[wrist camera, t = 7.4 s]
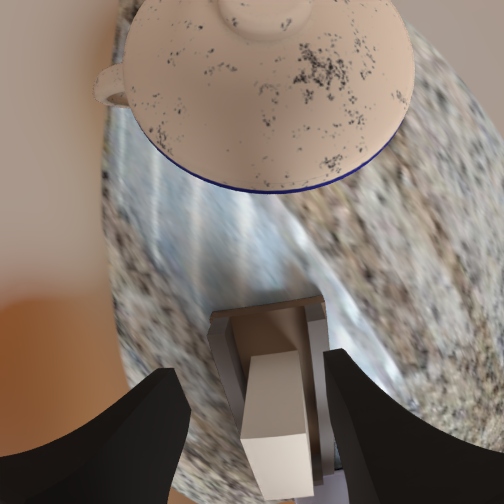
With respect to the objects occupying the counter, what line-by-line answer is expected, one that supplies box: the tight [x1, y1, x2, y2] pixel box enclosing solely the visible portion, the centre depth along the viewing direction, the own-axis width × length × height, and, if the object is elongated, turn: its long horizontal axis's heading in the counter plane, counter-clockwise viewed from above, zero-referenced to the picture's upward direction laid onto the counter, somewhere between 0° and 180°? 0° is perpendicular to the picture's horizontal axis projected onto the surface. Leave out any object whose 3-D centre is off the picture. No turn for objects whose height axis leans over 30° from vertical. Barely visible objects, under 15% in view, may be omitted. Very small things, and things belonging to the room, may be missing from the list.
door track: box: [207, 295, 335, 486], centre depth 19 cm, size 16×7×4 cm, turn 11°
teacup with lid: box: [93, 0, 415, 194], centre depth 10 cm, size 12×9×12 cm
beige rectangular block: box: [240, 350, 314, 500], centre depth 16 cm, size 3×7×7 cm, turn 11°
